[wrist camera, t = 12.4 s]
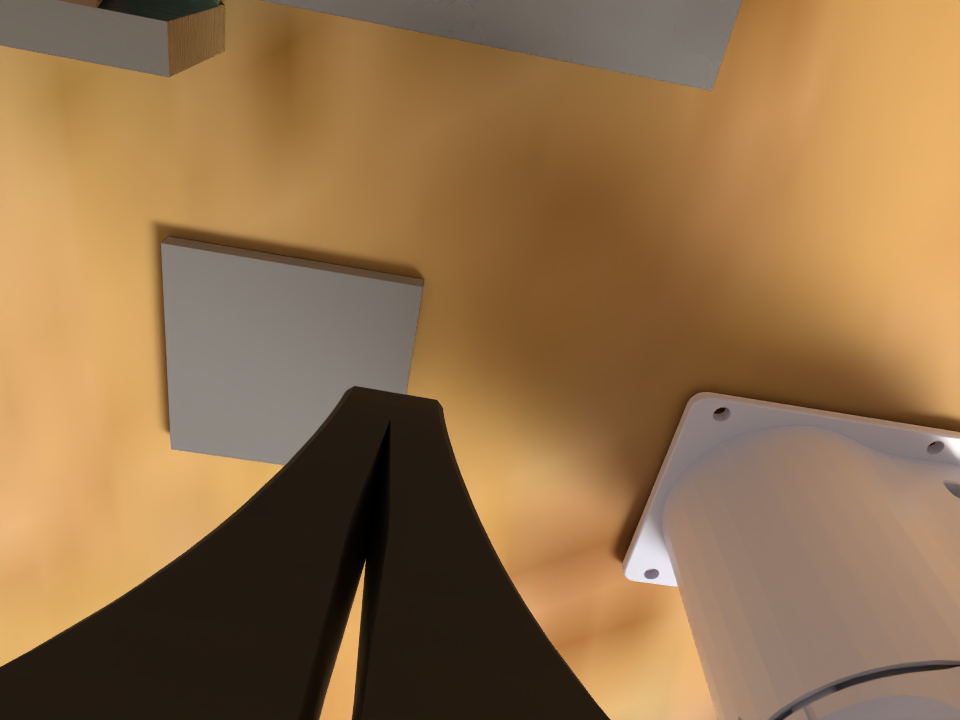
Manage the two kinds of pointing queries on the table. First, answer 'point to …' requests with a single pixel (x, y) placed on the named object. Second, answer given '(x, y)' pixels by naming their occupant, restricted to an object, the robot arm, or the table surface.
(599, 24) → the rail
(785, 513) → the robot arm
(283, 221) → the table surface
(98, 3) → the walnut block
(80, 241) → the table surface
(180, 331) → the rubber pad
